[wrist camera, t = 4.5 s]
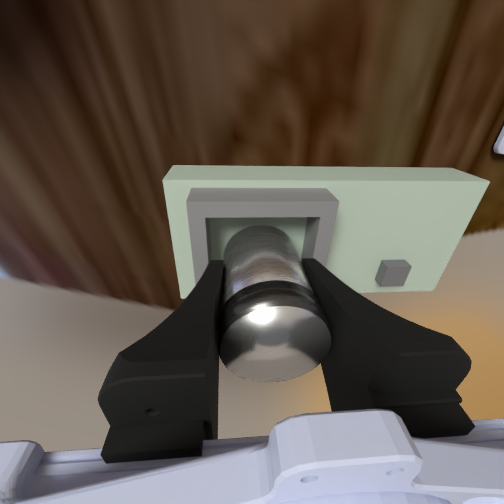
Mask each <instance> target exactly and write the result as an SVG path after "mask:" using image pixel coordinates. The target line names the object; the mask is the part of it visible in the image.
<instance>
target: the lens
mask: <svg viewBox="0 0 504 504" xmlns="http://www.w3.org/2000/svg"><path fill="white" fill-rule="evenodd" d="M223 266H224V269H223V287H222V309H221V312H220V315H219V325H218V354H219V356H220V358H221V360H222V362H223V363H224V365H225V366H226V368H228V370H230V371H231V372H232V373H234V374H235V375H237V376H239V377H241V378H244V379H247V380H251V381H258V382H279V381H285V380H289V379H292V378H296V377H298V376H301V375H303V374H305V373H307V372H309V371H311V370H312V369H314V368H315V367H317V366H318V365H319V364H320V363H321V362H322V361H323V360H324V359H325V357H326V356H327V354H328V352H329V350H330V347H331V342H332V330H331V327H330V325H329V322H328V320H327V318H326V315H325V313H324V310H323V308H322V306H321V303H320V301H319V299H318V298H317V296H316V295H315V294H314V293H313V290H312V288H311V286H310V283H309V281H308V278H307V276H306V273H305V271H304V268H303V266H302V263H301V261H300V259H299V256H298V254H297V251H296V249H295V246H294V244H293V241H292V240H291V238H290V237H289V236H288V235H287V234H286V233H285V232H284V231H282V230H280V229H278V228H276V227H273V226H268V225H255V226H250V227H247V228H245V229H242V230H241V231H239V232H237V233H236V234H235V235H234V236H233V237H232V238H231V239H230V240H229V241H228V243H227V245H226V247H225V249H224V254H223Z"/></svg>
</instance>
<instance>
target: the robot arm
mask: <svg viewBox="0 0 504 504" xmlns="http://www.w3.org/2000/svg"><path fill="white" fill-rule="evenodd" d="M494 152H495V153H499V154H504V126H503V129H502V131H501V133H500V135H499V137H498V139H497V141H496V143H495V145H494ZM302 266H303V268H304V271H305V273H306V276H307V278H308V281H309V283H310V286H311V288H312V290H313V293H314V294H315V295H316V296H317V298H318V299H319V301H320V303H321V306H322V308H323V310H324V313H325V315H326V318H327V320H328V322H329V325H330V327H331V330H332V342H331V347H330V350H329V352H328V354H327V356H326V357H325V359H324V360H323V361H322V362H321V366H322V370H323V374H324V378H325V383H326V386H327V391H328V396H329V400H330V405H331V410H332V412H322V413H306V414H300V415H295V416H291V417H288V418H286V419H284V420H282V421H280V422H278V423H277V424H276V425H275V427H274V428H273V430H272V432H271V433H270V435H269V436H258V437H245V438H231V439H218V383H219V354H218V325H219V315H220V312H221V309H222V287H223V269H224V266H223V260H211V261H210V262H209V263H208V265H207V267H206V269H205V271H204V273H203V275H202V276H201V278H200V279H199V281H198V282H197V284H196V285H195V287H194V288H193V290H192V291H191V292H190V293H189V295H188V296H187V297H186V299H185V300H184V301H183V302H182V303H181V304H180V305H179V307H178V308H177V309H176V310H175V311H174V312H173V313H172V314H171V315H170V316H169V317H168V318H167V319H165V320H164V321H163V322H162V323H161V324H160V325H159V326H157V327H156V328H155V329H153V331H151V332H150V333H148V334H147V335H146V336H144V337H143V338H142V339H140V340H138V341H137V342H135V343H134V344H132V345H131V346H129V347H128V348H126V349H125V350H123V351H121V352H120V353H119V354H118V356H117V357H116V359H115V361H114V362H113V364H112V366H111V368H110V370H109V372H108V374H107V376H106V378H105V381H104V383H103V385H102V388H101V390H100V392H99V396H98V402H99V405H100V407H101V409H102V411H103V413H104V415H105V417H106V419H107V421H108V422H109V424H110V429H109V432H108V434H107V437H106V440H105V443H104V446H103V448H95V449H82V450H68V451H55V452H44V450H43V448H42V447H41V445H40V444H38V443H36V442H34V441H28V440H27V441H26V440H22V441H7V442H0V504H504V418H500V419H487V420H473V421H471V420H470V418H469V417H468V415H467V414H466V413H465V411H464V410H463V408H462V407H461V406H460V405H459V403H461V402H462V398H461V397H460V395H459V394H458V393H457V391H456V388H457V387H458V386H459V385H460V383H461V382H462V381H463V380H464V378H465V377H466V376H467V374H468V373H469V371H470V368H471V359H470V357H469V356H468V355H467V353H466V352H465V351H464V350H463V349H462V348H461V347H460V346H459V345H458V343H457V342H456V341H455V340H454V339H453V338H452V337H450V336H448V335H445V334H442V333H439V332H436V331H434V330H431V329H428V328H425V327H423V326H420V325H418V324H416V323H413V322H411V321H408V320H406V319H404V318H402V317H400V316H398V315H395V314H394V313H392V312H390V311H388V310H386V309H384V308H382V307H380V306H378V305H377V304H375V303H373V302H372V301H370V300H368V299H367V298H365V297H363V296H362V295H360V294H359V293H357V292H356V291H355V290H353V289H352V288H350V287H349V286H348V285H346V284H345V283H344V282H342V281H341V280H340V279H339V278H337V277H336V276H335V275H334V274H333V273H331V272H330V271H329V270H328V269H327V268H325V267H324V266H323V265H322V264H321V263H320V262H318V261H317V260H316V259H315V258H302Z"/></svg>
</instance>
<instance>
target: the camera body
mask: <svg viewBox="0 0 504 504" xmlns="http://www.w3.org/2000/svg"><path fill="white" fill-rule="evenodd" d="M489 183H490V181H487V180H485V179H482V178H479V177H476V176H473V175H470V174H467V173H465V172H462V171H459V170H456V169H453V168H412V167H304V166H196V165H173V166H172V168H171V169H170V170H169V172H168V173H167V175H166V176H165V177H164V179H163V186H164V192H165V199H166V205H167V211H168V218H169V224H170V230H171V237H172V243H173V250H174V256H175V262H176V269H177V275H178V282H179V288H180V294H181V298H186V297H187V296H188V295H189V293H190V292H191V291H192V290H193V288H194V287H195V285H196V284H197V282H198V281H199V279H200V278H201V276H202V275H203V273H204V271H205V269H206V267H207V265H208V263H209V262H210V261H211V260H223V254H224V249H225V247H226V245H227V243H228V241H229V240H230V239H231V238H232V237H233V236H234V235H235V234H236V233H237V232H239V231H241V230H242V229H245V228H247V227H250V226H255V225H268V226H273V227H276V228H278V229H280V230H282V231H284V232H285V233H286V234H287V235H288V236H289V237H290V238H291V240H292V241H293V244H294V246H295V249H296V251H297V254H298V256H299V259H300V261H301V263H302V258H315V259H316V260H317V261H318V262H320V263H321V264H322V265H323V266H324V267H325V268H327V269H328V270H329V271H330V272H331V273H333V274H334V275H335V276H336V277H337V278H339V279H340V280H341V281H342V282H344V283H345V284H346V285H348V286H349V287H350V288H352V289H353V290H355V291H356V292H357V293H374V292H408V291H434V289H435V287H436V284H437V283H438V281H439V279H440V277H441V275H442V273H443V271H444V269H445V267H446V265H447V264H448V262H449V260H450V258H451V256H452V254H453V252H454V250H455V248H456V246H457V244H458V242H459V241H460V239H461V237H462V235H463V233H464V231H465V229H466V227H467V225H468V223H469V221H470V219H471V217H472V216H473V214H474V212H475V210H476V208H477V206H478V204H479V202H480V200H481V198H482V196H483V194H484V192H485V191H486V189H487V187H488V185H489Z"/></svg>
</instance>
